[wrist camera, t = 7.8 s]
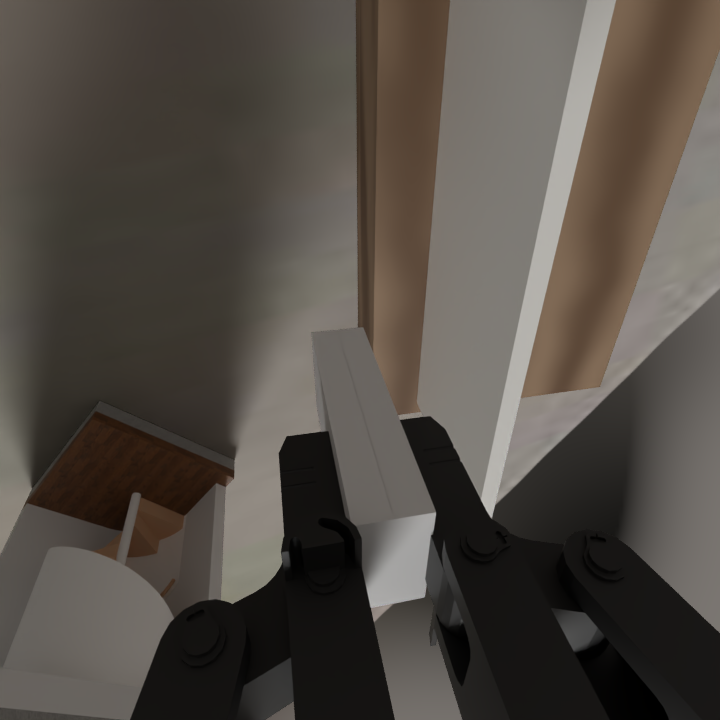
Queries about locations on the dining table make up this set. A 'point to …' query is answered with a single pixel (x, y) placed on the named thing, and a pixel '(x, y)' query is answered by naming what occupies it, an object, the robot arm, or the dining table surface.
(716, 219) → the dining table surface
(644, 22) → the wooden tray
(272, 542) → the dining table surface
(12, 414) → the dining table surface
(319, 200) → the dining table surface
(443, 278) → the duct cover
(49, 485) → the wood-lined white cubby
